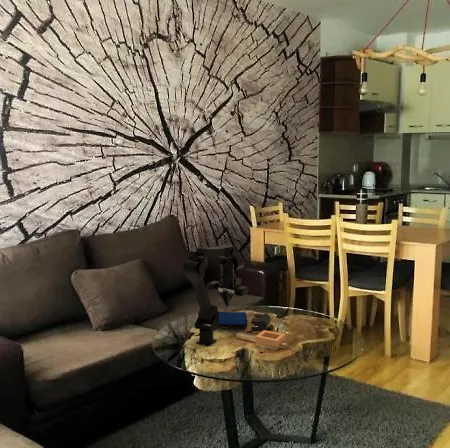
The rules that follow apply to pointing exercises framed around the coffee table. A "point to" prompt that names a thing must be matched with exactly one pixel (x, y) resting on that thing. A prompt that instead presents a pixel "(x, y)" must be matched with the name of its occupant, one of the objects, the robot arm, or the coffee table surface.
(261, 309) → the coffee table surface
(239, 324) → the handheld game console
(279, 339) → the collar
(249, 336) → the rail
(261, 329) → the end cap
